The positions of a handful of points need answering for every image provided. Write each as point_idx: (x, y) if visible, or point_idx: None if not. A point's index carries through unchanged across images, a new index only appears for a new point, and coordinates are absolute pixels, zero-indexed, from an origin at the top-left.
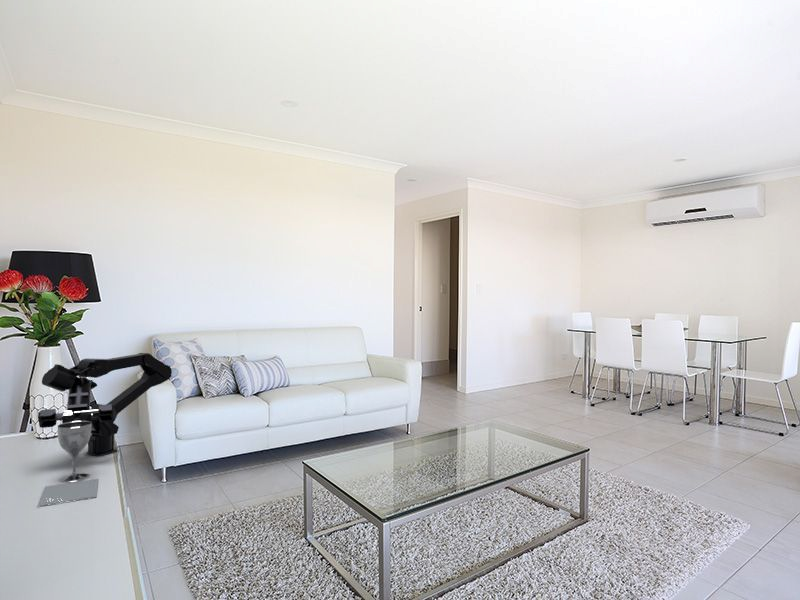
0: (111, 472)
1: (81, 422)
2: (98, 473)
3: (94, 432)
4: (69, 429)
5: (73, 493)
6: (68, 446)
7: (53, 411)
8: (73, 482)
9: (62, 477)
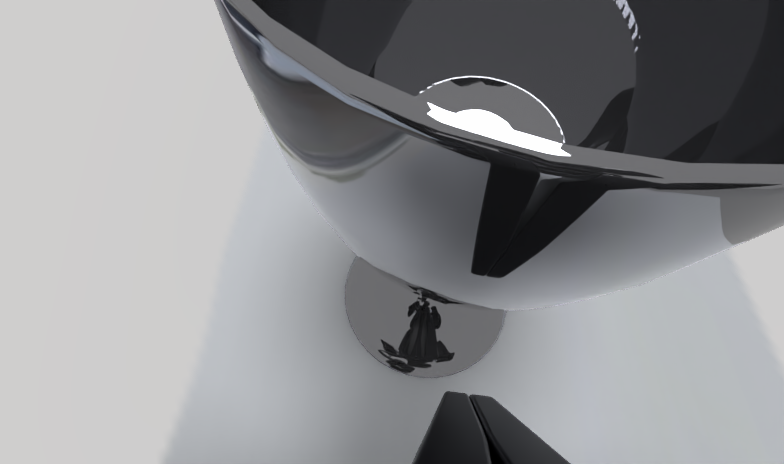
0: (226, 266)
1: (422, 149)
2: (293, 292)
3: None
4: None
5: None
6: (523, 66)
7: None
8: None
9: (489, 315)
